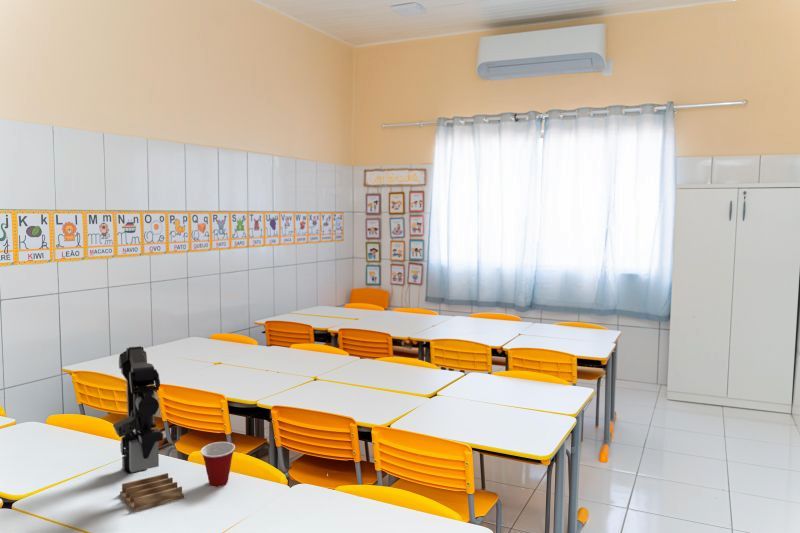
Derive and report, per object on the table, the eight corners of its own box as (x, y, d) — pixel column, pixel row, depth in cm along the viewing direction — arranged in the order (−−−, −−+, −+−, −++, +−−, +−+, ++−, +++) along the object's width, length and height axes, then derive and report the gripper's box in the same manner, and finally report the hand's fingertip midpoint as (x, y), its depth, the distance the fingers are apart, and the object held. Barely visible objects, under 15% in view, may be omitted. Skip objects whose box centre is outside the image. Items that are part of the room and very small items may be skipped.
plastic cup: (193, 487, 200) (193, 450, 199) (215, 474, 210) (215, 439, 209) (221, 493, 196) (220, 456, 195) (242, 480, 206) (242, 444, 205)
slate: (156, 464, 196) (156, 435, 195) (158, 466, 194) (158, 438, 193) (129, 469, 191) (129, 441, 190) (131, 472, 189) (131, 443, 189)
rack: (168, 482, 203) (168, 472, 203) (184, 498, 192) (184, 487, 192) (120, 494, 194) (119, 483, 193) (133, 511, 183) (133, 500, 183)
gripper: (108, 404, 194) (109, 453, 195) (123, 419, 179) (124, 472, 180) (145, 398, 201) (146, 446, 202) (163, 413, 186) (164, 464, 187)
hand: (144, 457), depth 192 cm, fingers closed on slate, 2 cm apart
